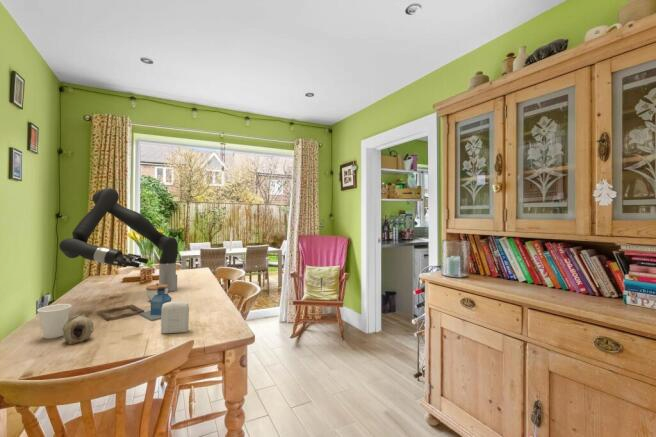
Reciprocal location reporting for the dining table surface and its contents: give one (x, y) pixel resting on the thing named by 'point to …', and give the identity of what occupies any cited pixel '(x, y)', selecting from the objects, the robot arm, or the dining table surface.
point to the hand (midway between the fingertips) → (143, 263)
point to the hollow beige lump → (77, 329)
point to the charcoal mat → (150, 316)
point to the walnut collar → (107, 317)
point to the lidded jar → (155, 290)
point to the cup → (53, 319)
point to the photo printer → (174, 317)
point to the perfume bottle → (159, 301)
